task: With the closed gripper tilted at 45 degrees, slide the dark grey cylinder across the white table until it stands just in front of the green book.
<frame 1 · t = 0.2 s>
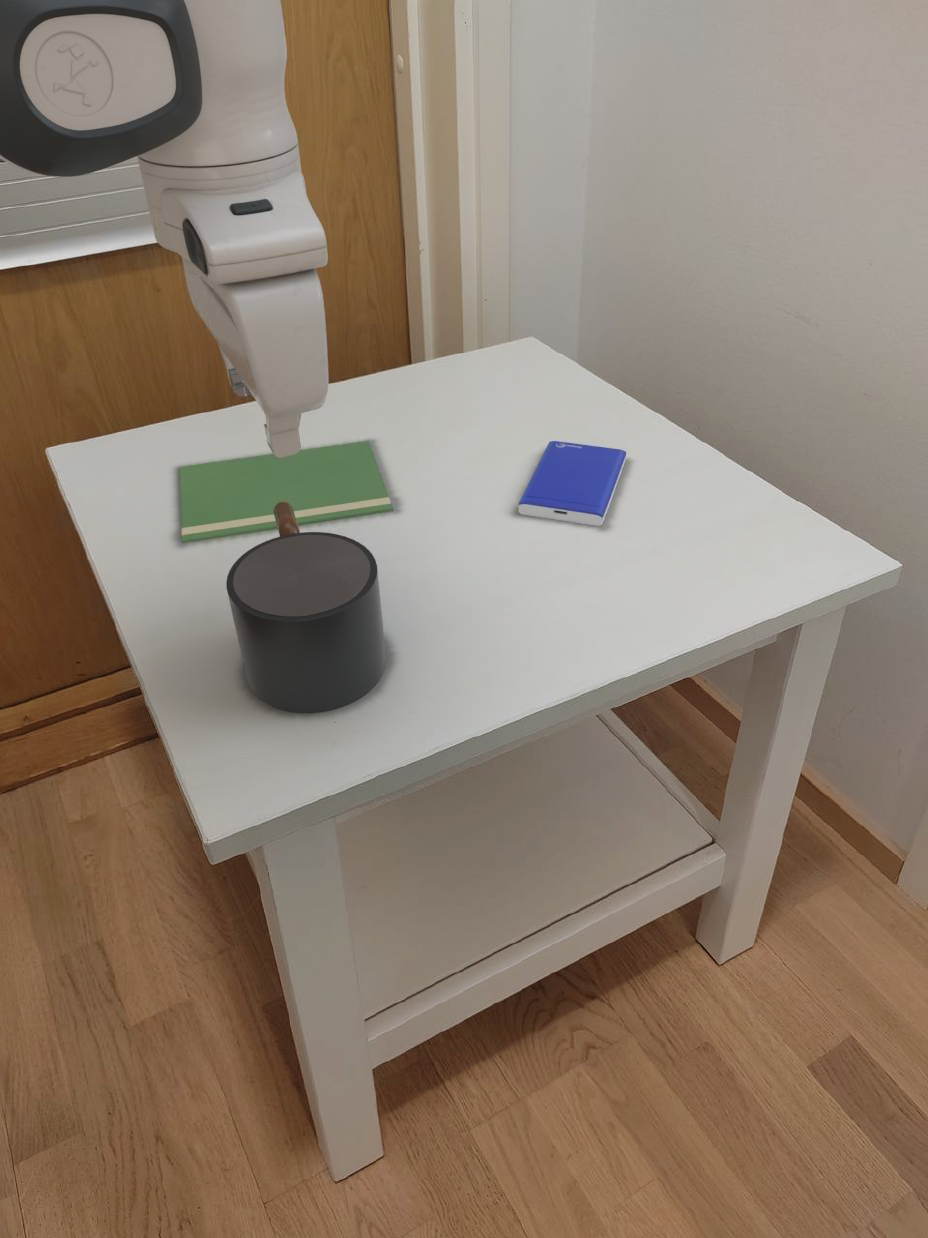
hand: (264, 420, 64), 21 cm above the table, tool pointing down, fingers open, 8 cm apart
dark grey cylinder: (316, 665, 76), on the table
hard drive: (573, 489, 95), on the table
green book: (282, 490, 96), on the table
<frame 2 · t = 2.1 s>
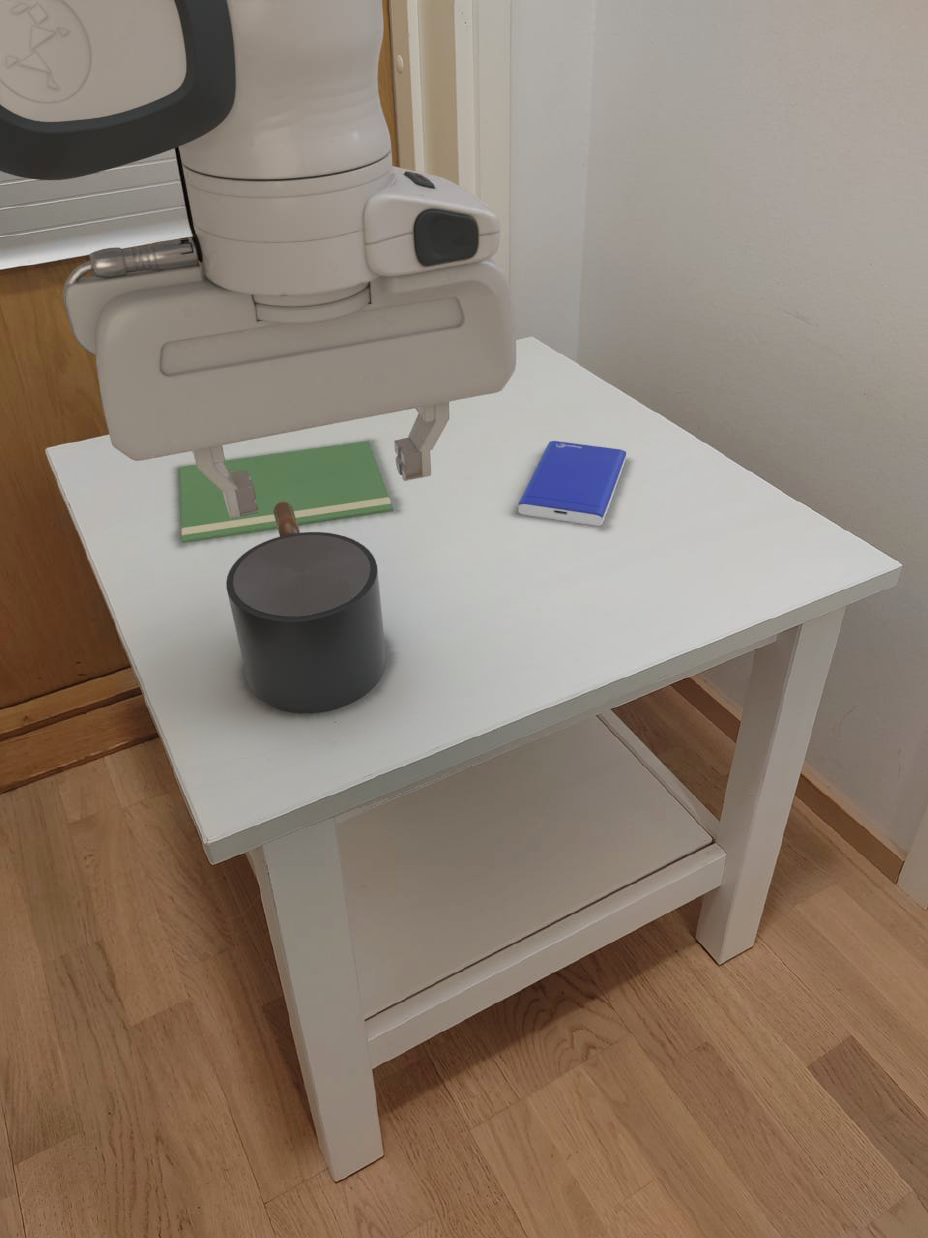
hand: (330, 491, 51), 24 cm above the table, tool pointing down, fingers open, 8 cm apart
nothing on the table moved.
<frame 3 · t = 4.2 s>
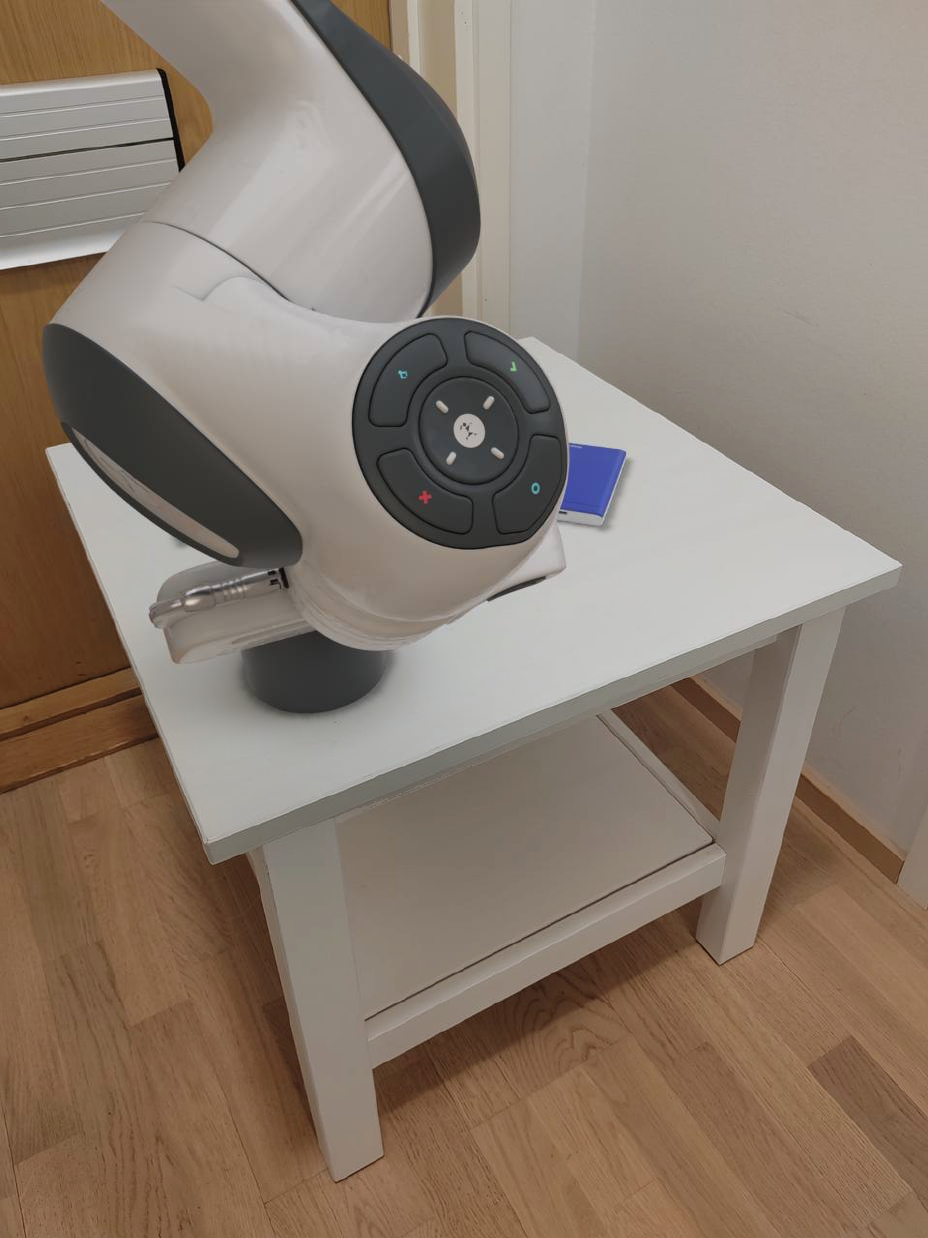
hand: (341, 601, 56), 16 cm above the table, tool tilted 45°, fingers closed
nothing on the table moved.
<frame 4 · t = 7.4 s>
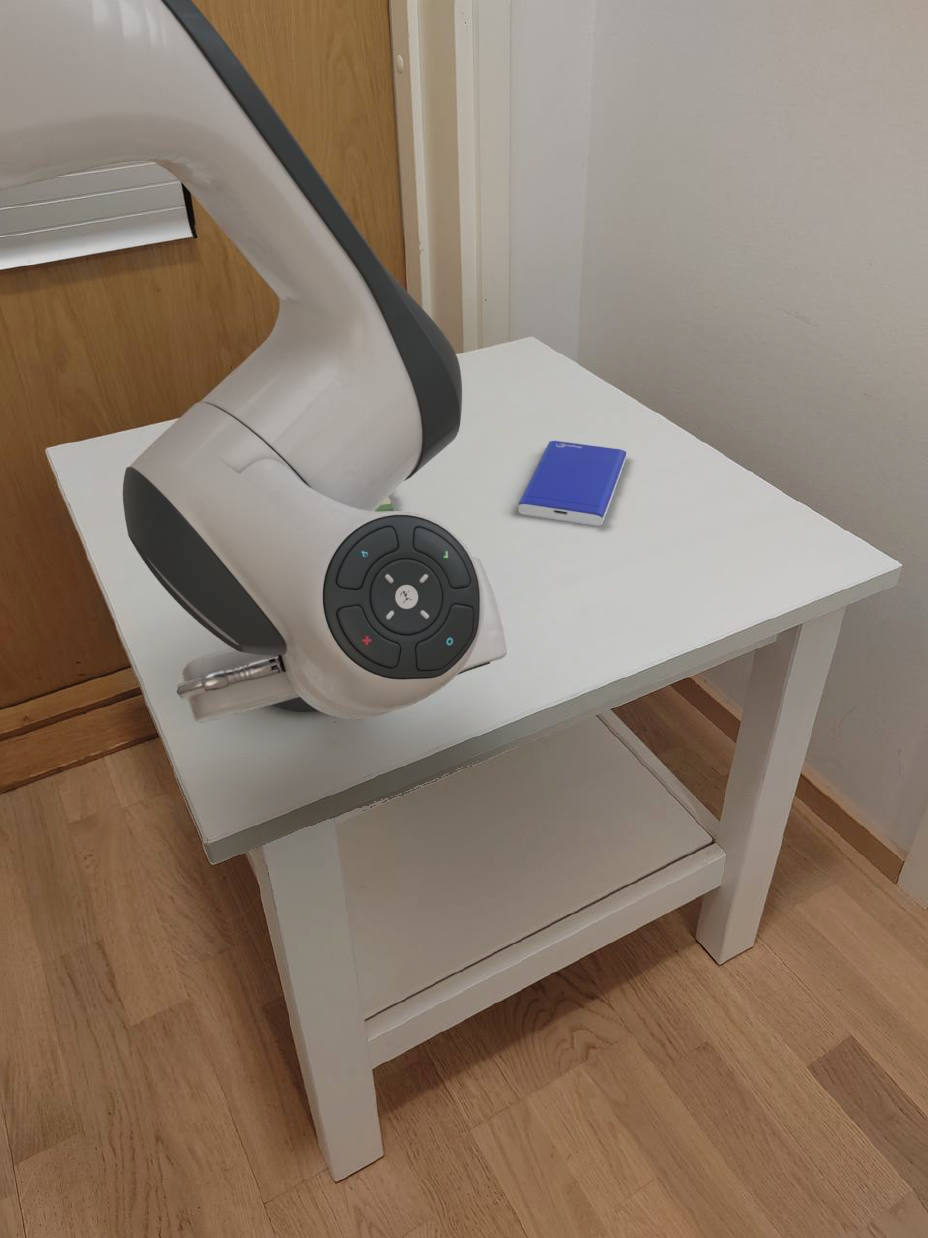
hand: (332, 664, 68), 5 cm above the table, tool tilted 45°, fingers closed, pressing on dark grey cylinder
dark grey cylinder: (317, 663, 76), on the table, touching gripper
everything else where it was.
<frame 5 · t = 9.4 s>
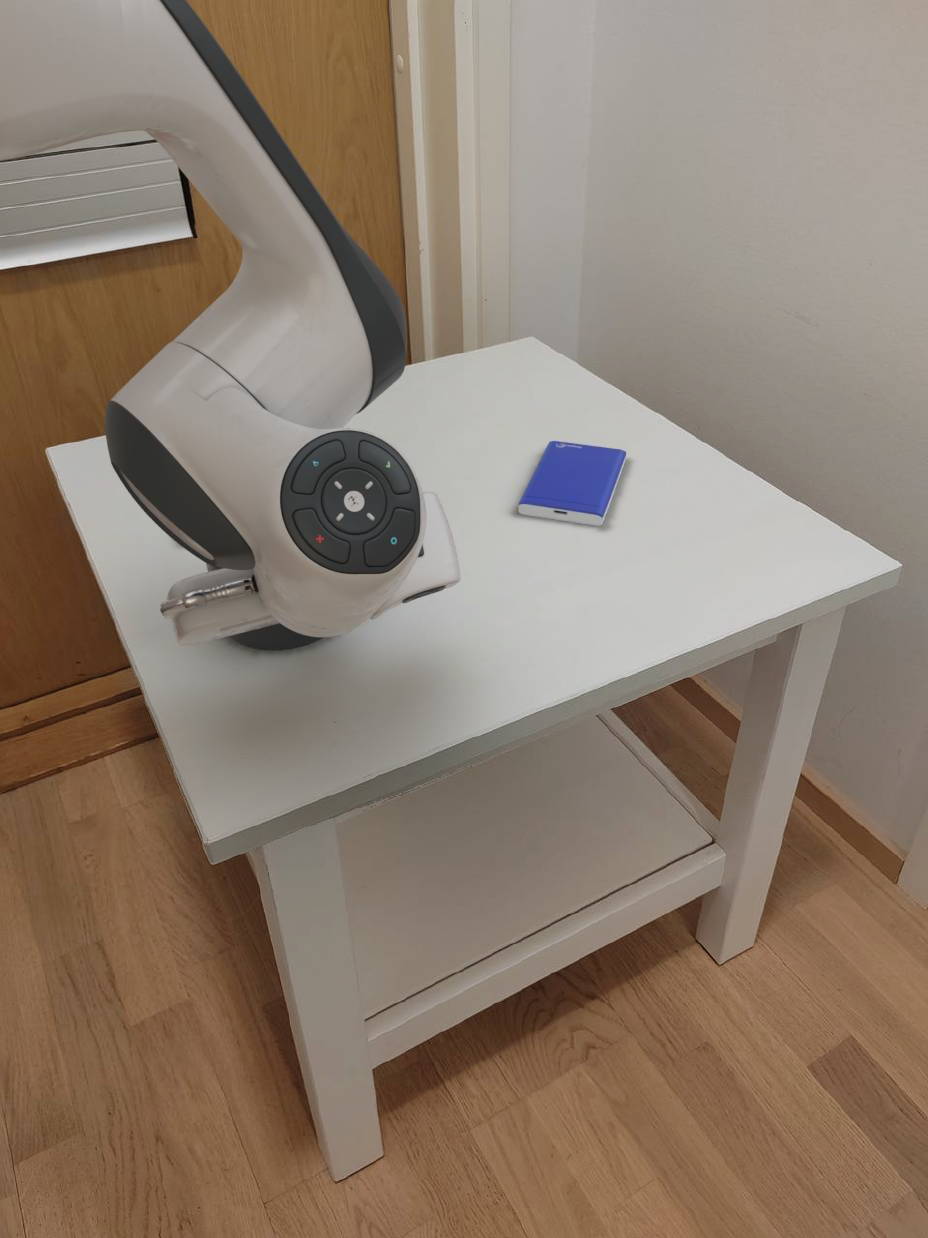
hand: (308, 600, 74), 5 cm above the table, tool tilted 45°, fingers closed
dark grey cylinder: (285, 608, 81), on the table, touching gripper
everything else where it was.
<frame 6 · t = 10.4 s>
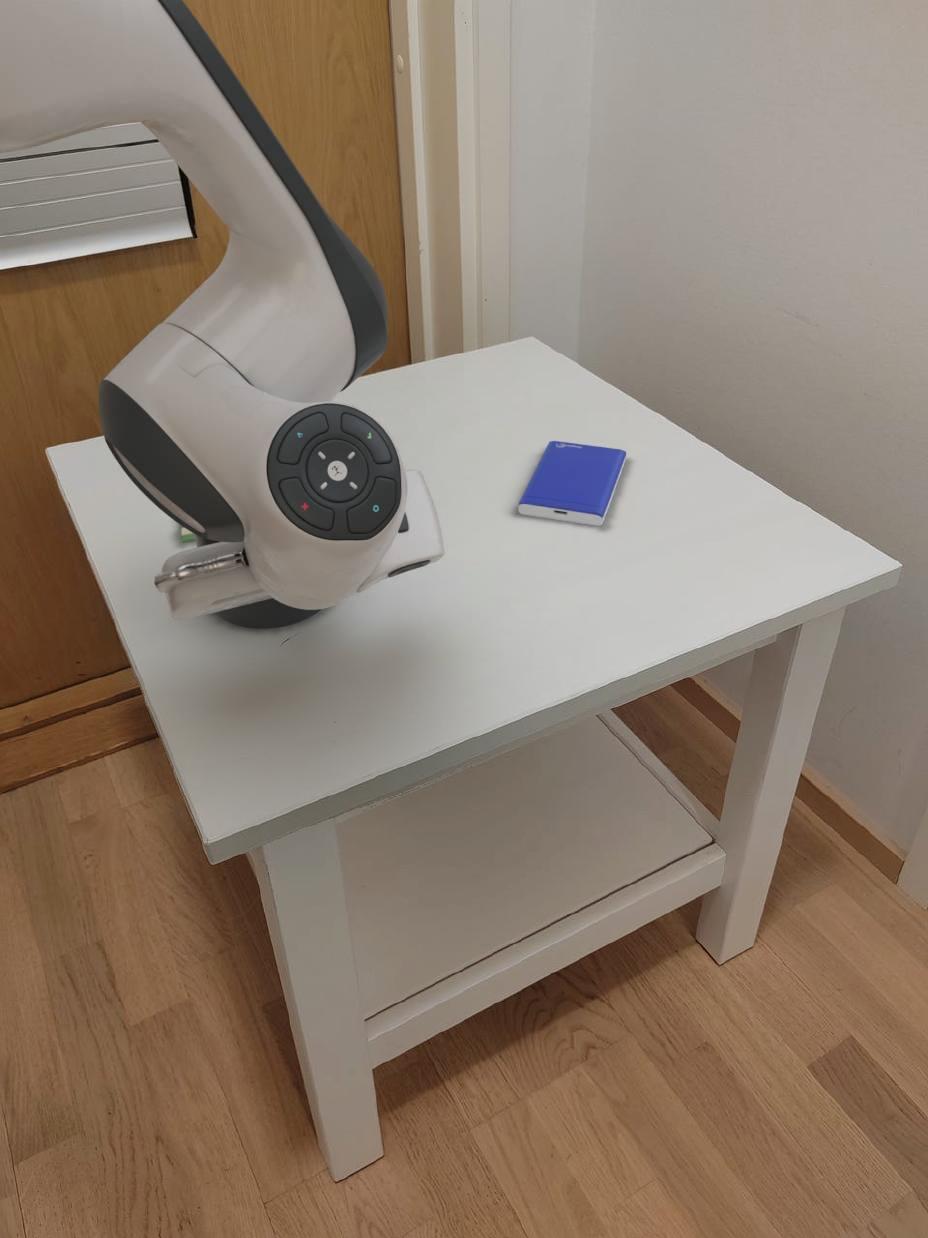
hand: (298, 578, 76), 5 cm above the table, tool tilted 45°, fingers closed
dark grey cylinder: (273, 589, 83), on the table, touching gripper
everything else where it was.
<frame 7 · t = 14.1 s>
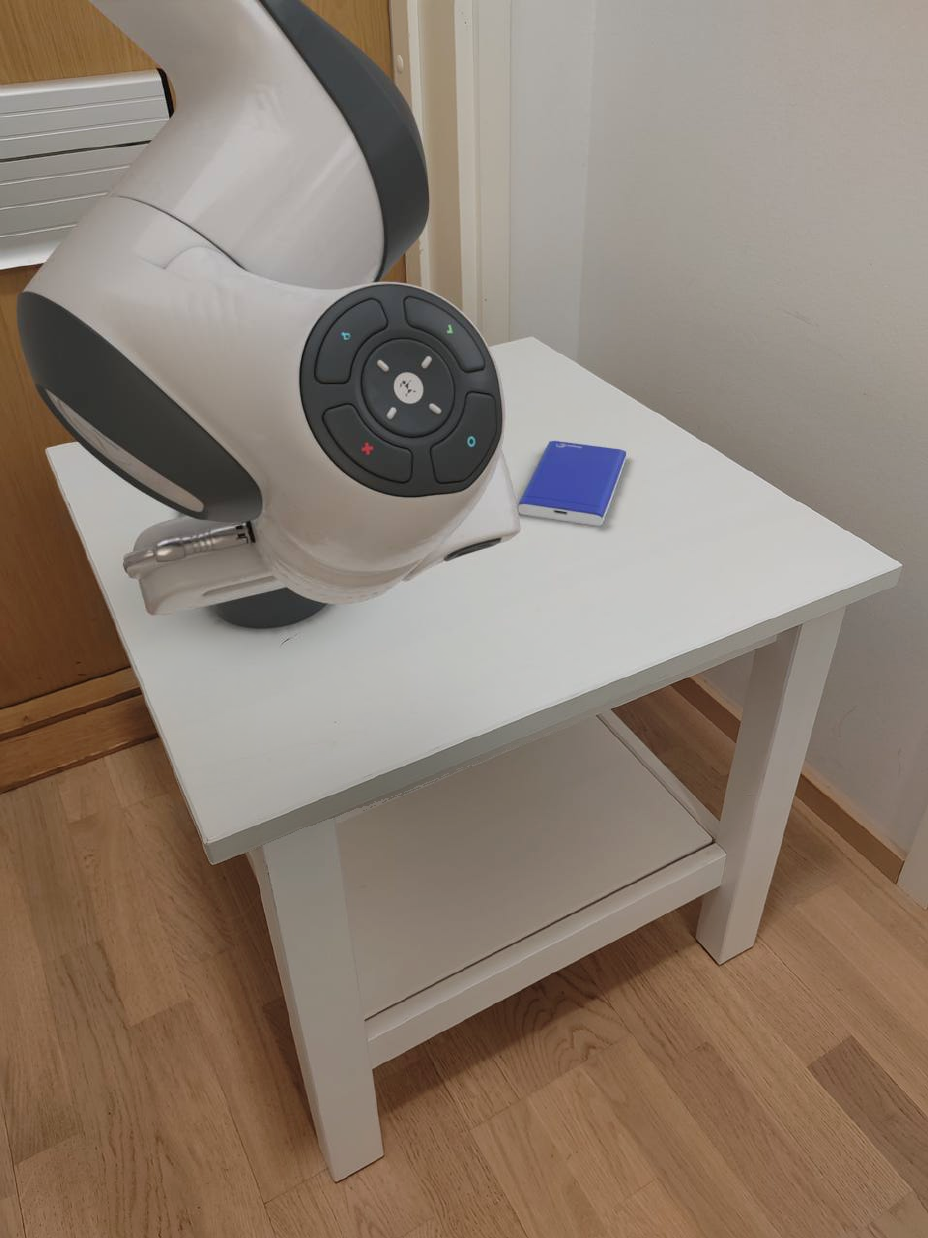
hand: (313, 563, 59), 16 cm above the table, tool tilted 45°, fingers closed
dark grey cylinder: (273, 589, 83), on the table
everything else where it was.
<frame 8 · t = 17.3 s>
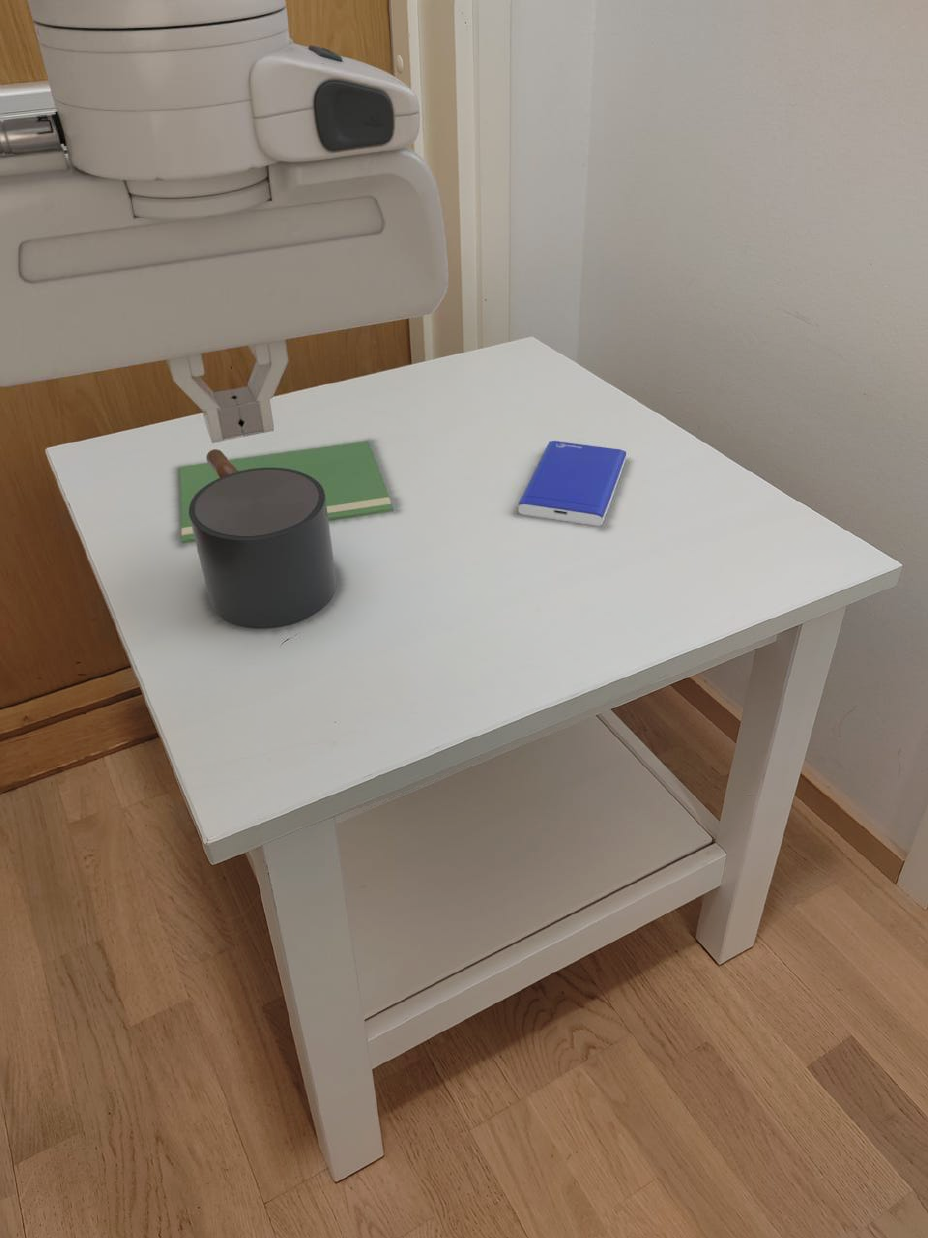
hand: (240, 432, 45), 29 cm above the table, tool pointing down, fingers closed
nothing on the table moved.
at the end: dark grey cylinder inside the target area on the table beside the green book (2.6 cm from its centre), on the table; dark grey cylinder tilted 0°; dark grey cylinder moved 11.2 cm from its start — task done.
